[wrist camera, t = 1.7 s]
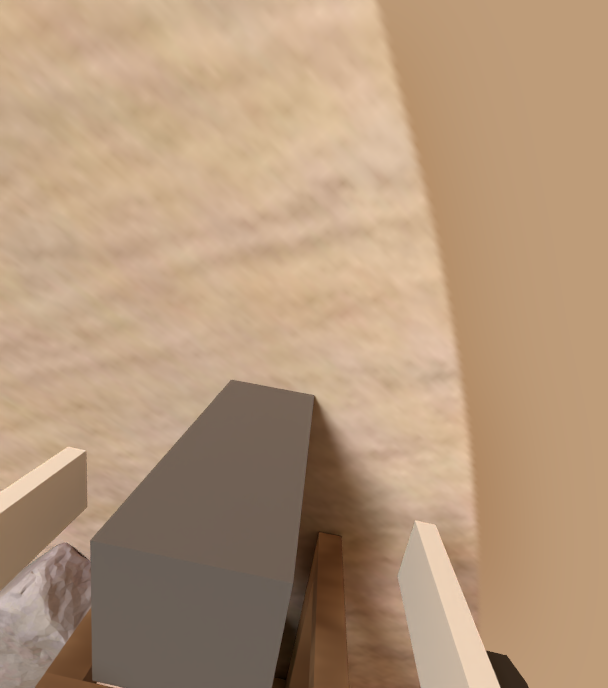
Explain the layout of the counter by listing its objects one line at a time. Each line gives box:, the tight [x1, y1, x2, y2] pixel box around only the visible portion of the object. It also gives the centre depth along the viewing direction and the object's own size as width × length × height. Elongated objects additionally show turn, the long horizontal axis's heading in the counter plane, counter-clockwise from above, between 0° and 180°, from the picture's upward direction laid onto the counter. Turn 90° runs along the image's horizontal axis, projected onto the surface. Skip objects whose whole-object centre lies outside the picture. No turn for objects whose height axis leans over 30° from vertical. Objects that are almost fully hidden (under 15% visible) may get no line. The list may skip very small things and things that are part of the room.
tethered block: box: [90, 380, 314, 688], centre depth 15 cm, size 6×22×11 cm, turn 170°
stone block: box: [0, 543, 91, 688], centre depth 23 cm, size 12×5×10 cm
